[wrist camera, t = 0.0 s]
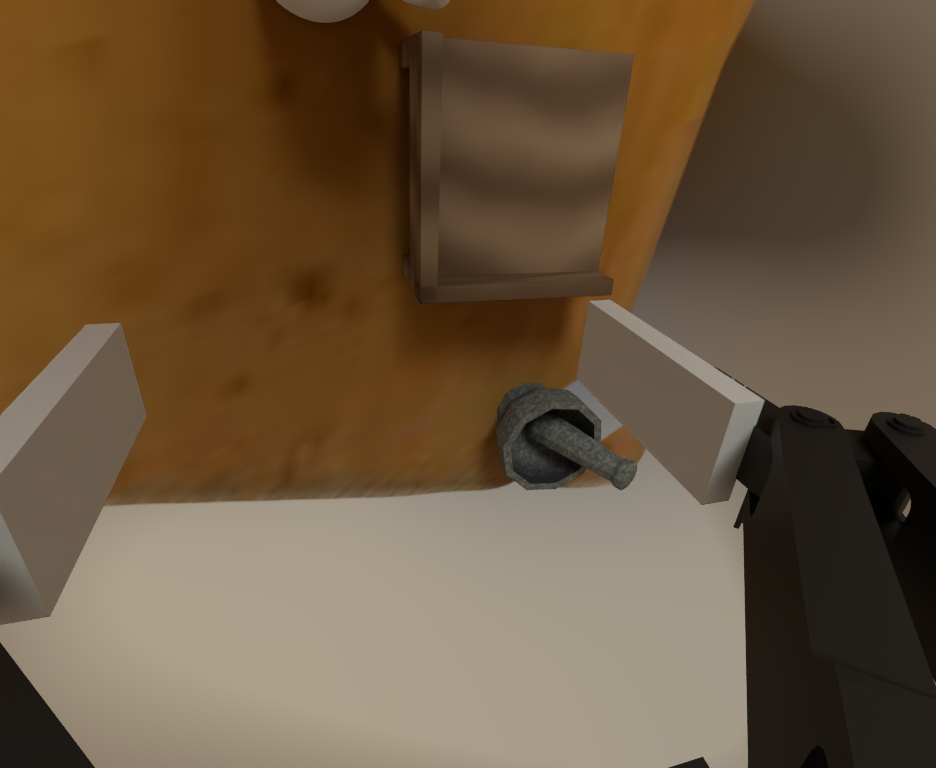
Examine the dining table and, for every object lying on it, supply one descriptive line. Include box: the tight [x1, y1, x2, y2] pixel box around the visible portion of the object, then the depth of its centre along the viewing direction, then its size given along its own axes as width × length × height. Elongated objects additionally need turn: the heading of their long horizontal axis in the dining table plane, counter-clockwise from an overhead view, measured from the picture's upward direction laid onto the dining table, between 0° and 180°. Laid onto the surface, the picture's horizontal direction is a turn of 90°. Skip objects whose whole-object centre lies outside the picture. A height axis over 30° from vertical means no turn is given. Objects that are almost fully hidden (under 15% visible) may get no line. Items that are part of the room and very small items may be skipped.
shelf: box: [400, 30, 634, 304], centre depth 38 cm, size 16×15×8 cm
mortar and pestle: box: [496, 383, 637, 490], centre depth 48 cm, size 11×9×12 cm
